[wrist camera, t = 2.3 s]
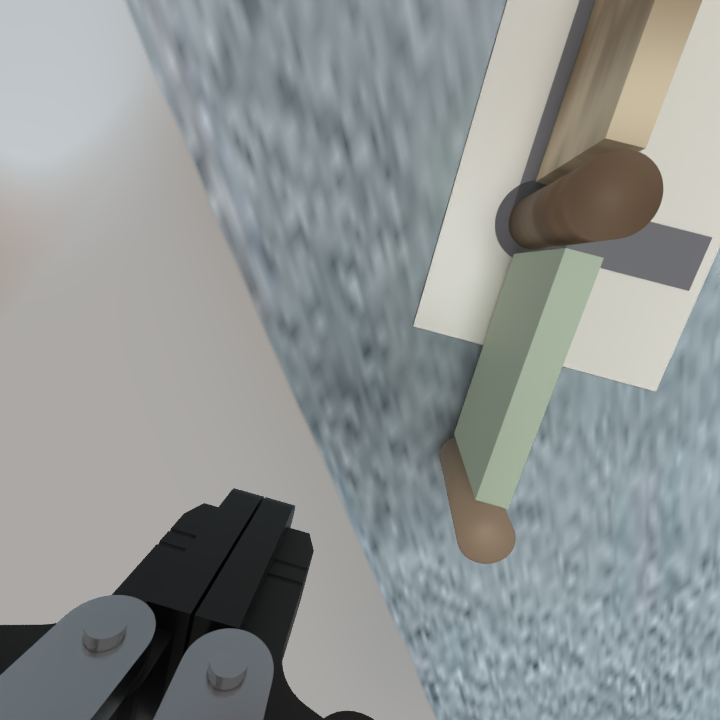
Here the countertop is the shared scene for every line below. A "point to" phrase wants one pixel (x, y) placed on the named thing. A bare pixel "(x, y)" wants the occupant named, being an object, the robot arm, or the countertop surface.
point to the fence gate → (512, 393)
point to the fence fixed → (607, 128)
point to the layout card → (518, 180)
